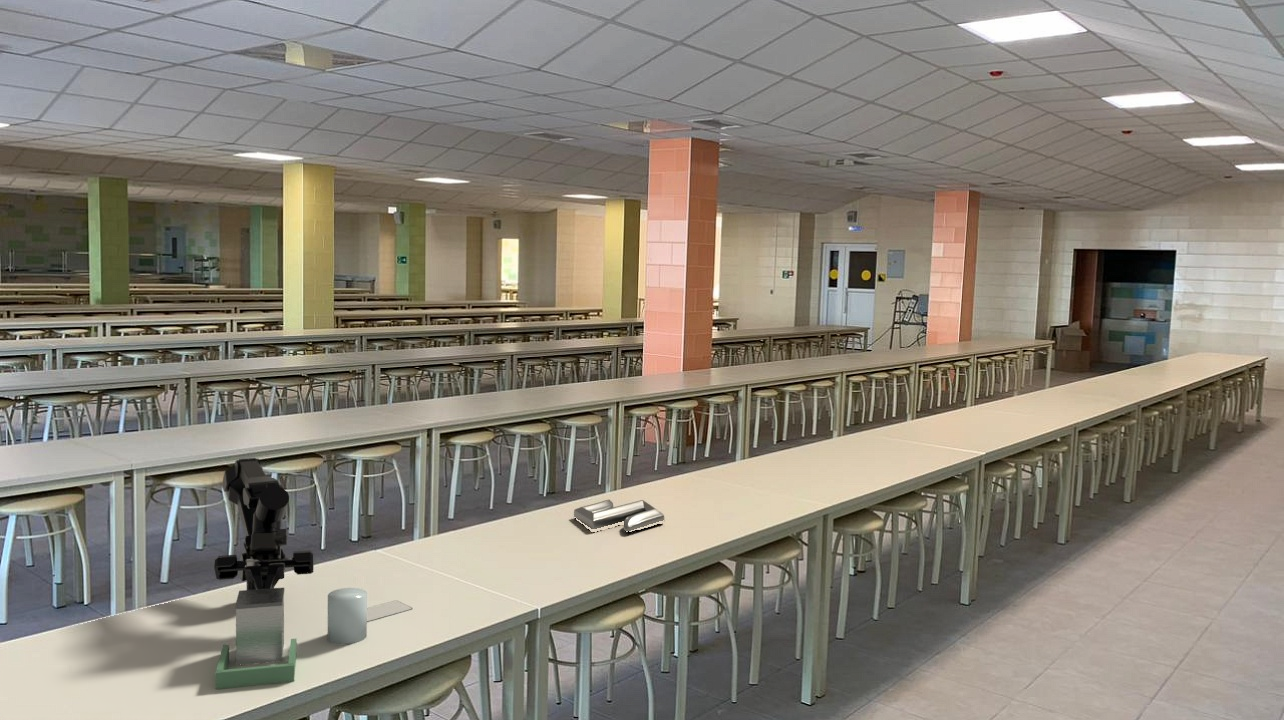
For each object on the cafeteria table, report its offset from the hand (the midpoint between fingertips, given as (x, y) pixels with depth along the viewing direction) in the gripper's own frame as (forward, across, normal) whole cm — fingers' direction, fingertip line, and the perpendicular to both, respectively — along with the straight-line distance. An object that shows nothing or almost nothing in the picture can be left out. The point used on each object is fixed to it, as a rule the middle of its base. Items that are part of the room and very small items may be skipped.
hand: (263, 603), depth 184 cm
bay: (+16, 0, -6) cm, 17 cm away
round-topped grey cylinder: (+7, +16, +3) cm, 18 cm away
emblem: (-42, +96, +54) cm, 118 cm away
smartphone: (-1, +22, +12) cm, 25 cm away
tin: (+11, 0, -1) cm, 11 cm away
